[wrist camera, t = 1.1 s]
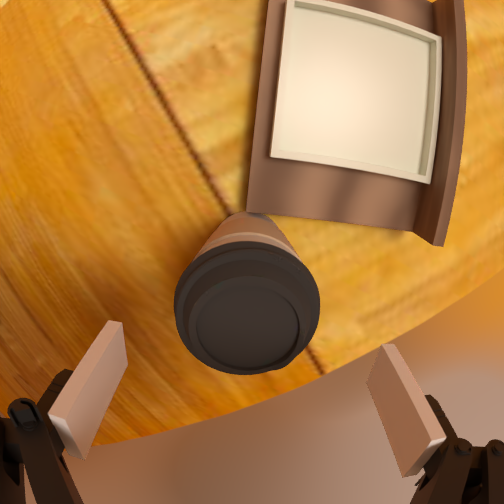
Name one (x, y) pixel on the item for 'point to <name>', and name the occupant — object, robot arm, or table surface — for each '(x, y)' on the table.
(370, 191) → the shelf
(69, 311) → the table surface
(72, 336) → the table surface
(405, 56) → the tray
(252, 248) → the coffee cup
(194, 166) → the table surface
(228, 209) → the table surface
